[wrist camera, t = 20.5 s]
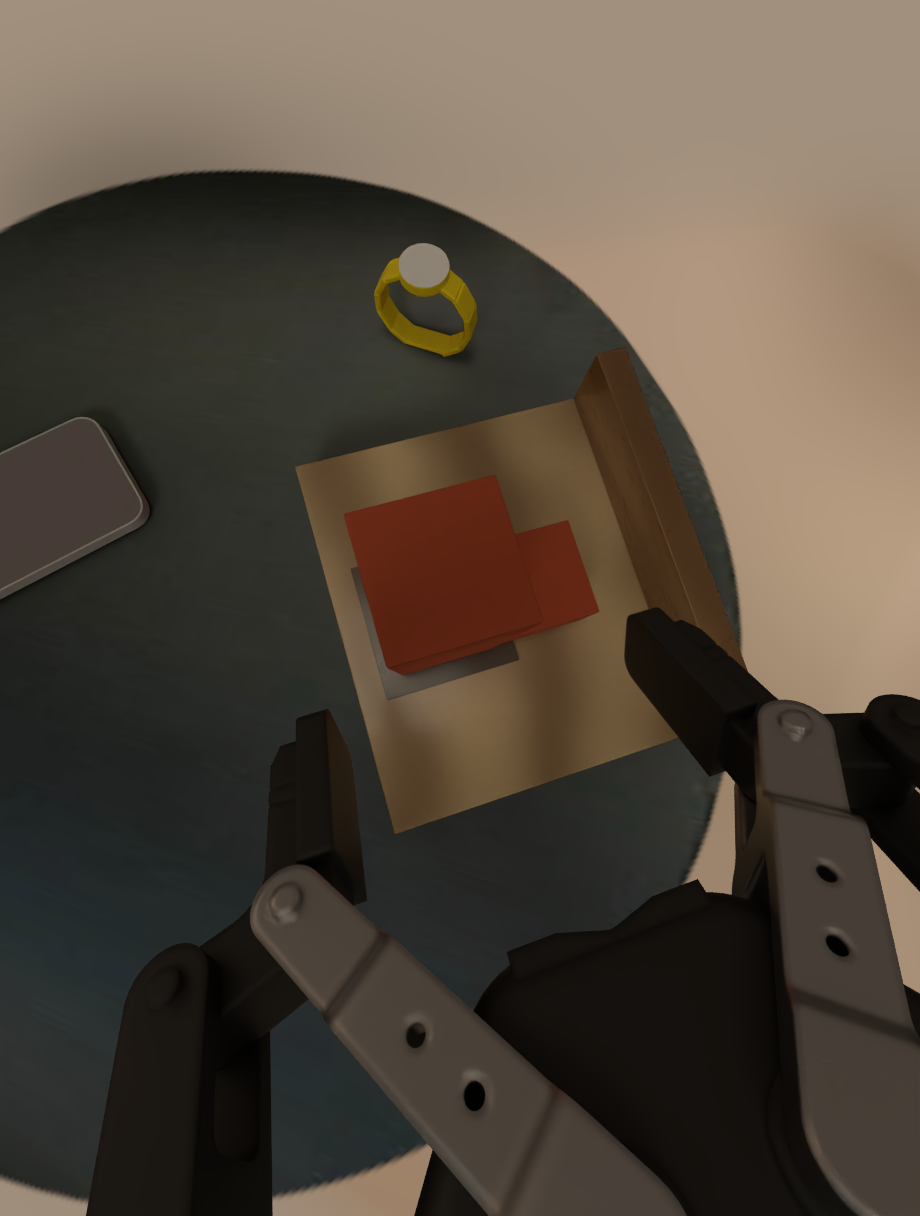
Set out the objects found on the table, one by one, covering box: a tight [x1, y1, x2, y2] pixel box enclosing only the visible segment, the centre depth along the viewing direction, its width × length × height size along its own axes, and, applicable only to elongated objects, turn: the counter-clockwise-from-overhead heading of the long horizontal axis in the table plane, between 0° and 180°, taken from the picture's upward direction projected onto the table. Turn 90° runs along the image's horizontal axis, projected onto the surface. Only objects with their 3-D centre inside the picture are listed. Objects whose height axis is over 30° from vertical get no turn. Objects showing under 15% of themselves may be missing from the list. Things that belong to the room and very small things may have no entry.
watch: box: [374, 243, 477, 357], centre depth 29 cm, size 6×3×6 cm, turn 71°
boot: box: [344, 475, 599, 675], centre depth 21 cm, size 10×5×11 cm, turn 107°
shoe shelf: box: [296, 347, 748, 834], centre depth 26 cm, size 18×20×7 cm
